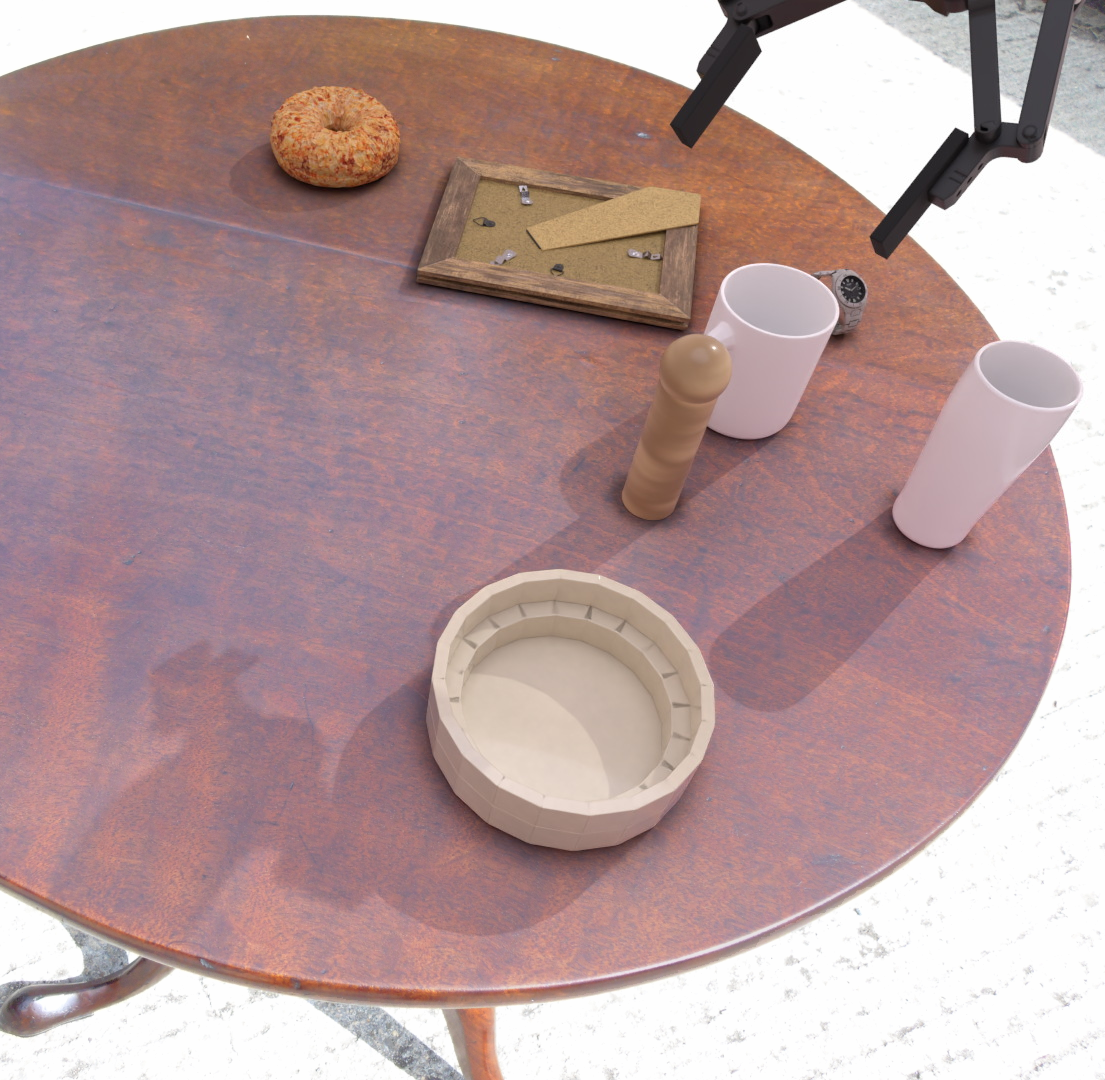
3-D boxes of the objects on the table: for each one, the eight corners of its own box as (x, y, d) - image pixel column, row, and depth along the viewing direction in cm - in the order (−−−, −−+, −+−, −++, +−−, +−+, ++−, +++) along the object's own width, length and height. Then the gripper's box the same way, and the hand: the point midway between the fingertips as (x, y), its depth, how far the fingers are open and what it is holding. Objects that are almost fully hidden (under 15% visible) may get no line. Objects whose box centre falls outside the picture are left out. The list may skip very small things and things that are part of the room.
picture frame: (696, 210, 103) (455, 170, 106) (701, 194, 102) (457, 153, 104) (685, 333, 92) (416, 284, 94) (691, 316, 90) (417, 267, 93)
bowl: (721, 681, 70) (747, 635, 66) (640, 903, 61) (664, 866, 56) (490, 582, 74) (500, 532, 70) (380, 775, 65) (384, 732, 61)
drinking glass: (885, 478, 82) (977, 326, 70) (976, 507, 81) (1086, 356, 69) (873, 541, 78) (969, 391, 66) (969, 572, 77) (1085, 424, 65)
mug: (627, 396, 87) (659, 290, 78) (746, 357, 90) (788, 252, 82) (689, 469, 82) (730, 364, 73) (812, 425, 85) (864, 320, 77)
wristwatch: (830, 345, 92) (852, 298, 88) (787, 301, 95) (807, 254, 91) (863, 336, 92) (887, 290, 89) (820, 293, 96) (841, 246, 92)
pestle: (687, 491, 80) (749, 333, 68) (668, 532, 78) (730, 376, 66) (629, 468, 82) (681, 310, 70) (609, 509, 79) (659, 351, 67)
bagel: (253, 184, 103) (250, 136, 99) (292, 112, 111) (290, 66, 107) (383, 206, 101) (385, 159, 98) (413, 132, 110) (416, 85, 106)
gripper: (1278, -39, 53) (975, 322, 58) (848, -192, 64) (628, 122, 69) (1315, -136, 46) (971, 280, 51) (830, -287, 57) (588, 68, 63)
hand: (773, 190), depth 60 cm, fingers open, 13 cm apart
